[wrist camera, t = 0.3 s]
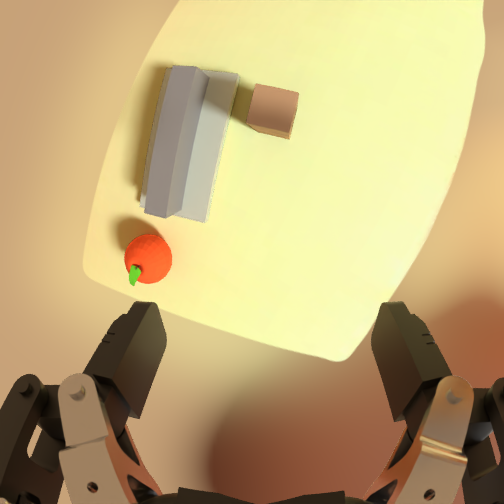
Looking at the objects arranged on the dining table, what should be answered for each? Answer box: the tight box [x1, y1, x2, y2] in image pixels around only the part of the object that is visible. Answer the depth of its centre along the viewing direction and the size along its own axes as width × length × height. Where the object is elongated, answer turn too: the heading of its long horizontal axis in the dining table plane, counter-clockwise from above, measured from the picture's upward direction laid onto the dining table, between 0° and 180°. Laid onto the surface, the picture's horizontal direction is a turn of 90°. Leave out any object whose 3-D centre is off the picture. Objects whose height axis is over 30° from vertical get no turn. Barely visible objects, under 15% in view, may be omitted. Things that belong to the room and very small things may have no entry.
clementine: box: [124, 234, 172, 286], centre depth 37 cm, size 8×7×7 cm
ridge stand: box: [140, 66, 240, 223], centre depth 31 cm, size 20×10×6 cm, turn 167°
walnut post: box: [246, 84, 299, 139], centre depth 27 cm, size 4×4×10 cm
